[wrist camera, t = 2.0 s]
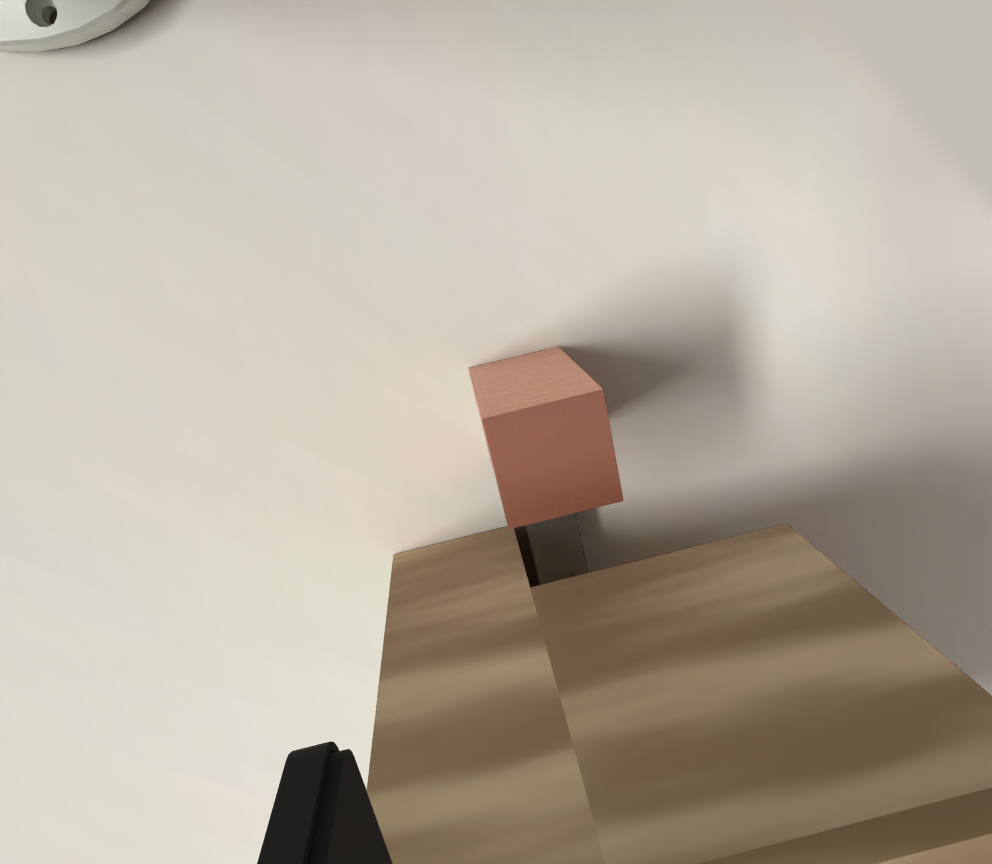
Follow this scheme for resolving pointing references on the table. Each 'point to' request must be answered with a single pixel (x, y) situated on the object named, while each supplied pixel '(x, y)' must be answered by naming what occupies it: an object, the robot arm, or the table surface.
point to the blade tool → (547, 451)
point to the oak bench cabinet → (669, 714)
